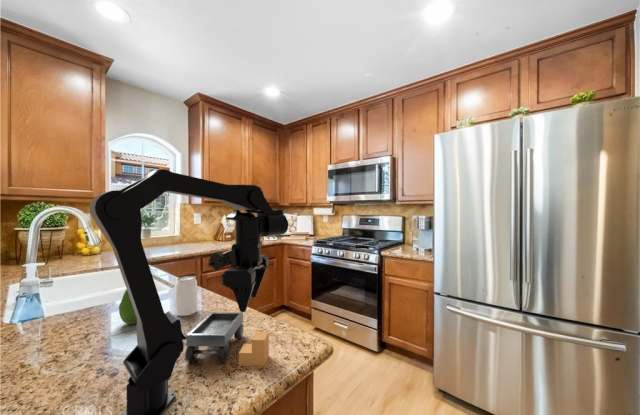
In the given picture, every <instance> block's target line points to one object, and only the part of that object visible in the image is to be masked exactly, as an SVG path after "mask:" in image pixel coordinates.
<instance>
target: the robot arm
mask: <svg viewBox="0 0 640 415" xmlns="http://www.w3.org/2000/svg"><path fill="white" fill-rule="evenodd" d="M164 193H170V194H176V195H182V196H185V197H194V198H197V199H198V198H199V199H202V200H203V199H205V200H209V201H216V202H219V203H222V204H224V205H225V206H228V207H230V208H234V209H233V210H232V211H231V213H229V214H227V216H226V218H225V219H226V220H227V221H234V223H235V227H234V228H235V231H234V232H235V236H234V237H235V239H234V240H235V243H232V245H231V249H230V250H227V251H225V252H221V251H219V250H218V251H216V252H213V253H210V256H209V259H208V261H209V262H208V264H207V265H208V266H209V267H210V268H211V267H212V269H213V271H214V272H216V271H220V270H221V269H222V268H225V267H228V266H230V267H229V268H228V269H227V270H225V271H224V272H223V273H222V274H221V276H220V277H221V279H220V280H221V282H220V283H221V284H220V285H222V286H224V287H226V288H229V289H230V290H231V291H232V292H233V294H234V297H235V300H236V304H237V306H238V308H239V312H243V313H245V312H246V311H247V310H248V309H247V308H248V305H249V302H250V299H251V298H256V297H257V295H258V292H259V290H260V287H261V284H262V282H263V280H264V277H265V274H266V273H267V270H268V266H269V264H270V262H269V261H270V258H269V256H268V255H266V254H261V247H262V246H263V240H261V237H272V236H273V237H274V236H283V235H285V234H286V233H287V232H288V229H289V222H288V217H287V216H286V215H285V214H284V209H281V208H279V209H272V207H271V205H270V204H269V202H268V200H267V199H266V197H265V196H264V192H263V190H262V188H261V187H260V186H258V185H256V184H226V183H222V182H217V181H212V180H208V179H204V178H199V177H195V176H191V175H186V174H183V173H177V172H174V171H170V170H169V169H165V168H164V169H163V168H161V169H160V168H159V169H156V170H153V171H150V172H149V173H148V174H147V175H146V176H144V177H142V178H141V179H139V180H136V181H135V182H133V183H131V184H128V185H126V186H125V187H123V188H121V189H120V190H118V189H117V190H115V189H114V190H109V191H106V192H105V191H104V192H102V193H99V194H97V195H96V196H94V197H93V199H92V200H91V201H90V203H89V206H88V209H89V214H90V217H91V218H92V219H93V221H94V222H95V224H96V226H97V227H98V229H99V230H100V232H101V233H102V235H103V236H104V237H105V239H106V240H107V242H108V243H109V245H110V247H111V248H112V251H113V253H114V256H115V260H116V262H117V264H118V268H119V272H120V273H121V277H122V280H123V283H124V286H125V288H126V290H127V291H128V294H129V297H130V300H131V303H132V306H133V308H134V311H135V314H136V317H137V323H136V332H135V334H136V343H137V344H136V346H135V347H134V348H133V349H132V351H131V352H130V353H129V354H128V355H127V357H126V358H124V360H123V362H122V363H123V364H124V367H125V369H126V370H127V372H128V374H129V376H130V377H129V378H128V384H126V386H125V387H126V388H125V389H126V409H125V411H124V412H123V413H121V415H163V413H164V412H165V410H166V409H167V408H168V407H169V405H170V404H171V403H172V402H173V400H174V399H175V398H176V396H177V393H176V392H169V379H171V377H172V374H173V372H174V369H175V365H176V362H177V360H179V358H180V357H181V354H182V353H183V352H184V349H185V348H184V346H185V344H184V341H186V335H184V333H183V330H182V322H181V319H179V318H178V316H176V315H175V314H173V313H172V312H171V311H166V312H165V311H164V308H163V305H162V302H161V298H160V296H159V292H158V289H157V286H156V283H155V280H154V277H153V274H152V271H151V268H150V264H149V261H148V259H147V255H146V252H145V249H144V246H143V243H142V230H143V227H142V226H143V223H142V222H143V220H142V212H141V210H142V209H143V208H145V207H147V206H148V205H150V204H151V203H153V202H154V201H155V200H156V199H158V198H159V197H161V196H162V195H163V194H164ZM241 210H242V211H245V212H241ZM255 214H257V215H255Z"/></svg>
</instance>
